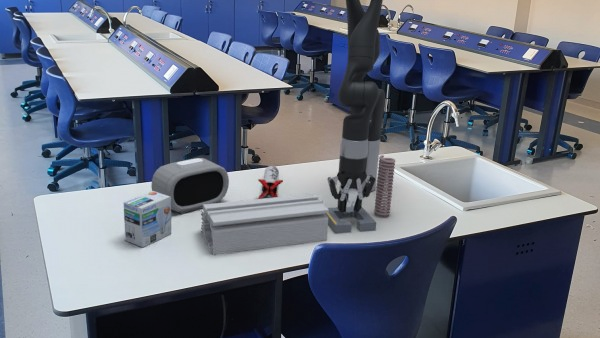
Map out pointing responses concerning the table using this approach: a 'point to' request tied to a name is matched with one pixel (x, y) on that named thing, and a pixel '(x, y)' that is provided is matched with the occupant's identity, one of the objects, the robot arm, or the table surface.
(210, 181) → the alarm clock
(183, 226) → the table surface
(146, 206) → the light bulb box
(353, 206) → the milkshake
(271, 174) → the model rocket
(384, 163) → the coil
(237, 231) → the aluminum extrusion profile
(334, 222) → the grey flat c-shaped piece
